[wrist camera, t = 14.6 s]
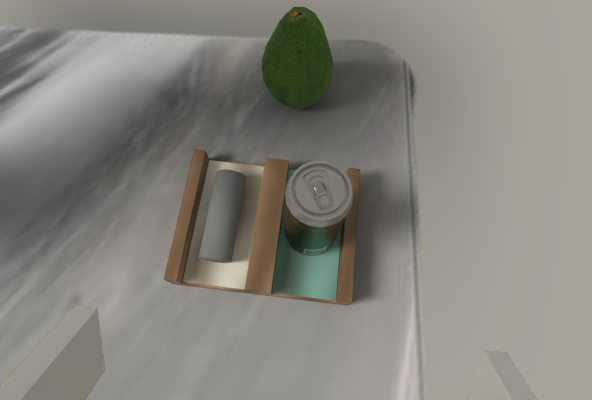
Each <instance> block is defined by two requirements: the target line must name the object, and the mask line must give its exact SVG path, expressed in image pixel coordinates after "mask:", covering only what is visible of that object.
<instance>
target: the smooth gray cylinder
mask: <svg viewBox="0 0 592 400" xmlns="http://www.w3.org/2000/svg"><path fill="white" fill-rule="evenodd" d="M245 183H246V176H245V175H244V174H242V173H240V172H237V171H234V170H228V169H223V170H219V171H217V172H216V177H215V182H214V186H213V191H212V196H211V201H210V205H209V210H208V215H207V220H206V224H205V229H204V234H203V239H202V243H201V248H200V253H199V258H201V259H204V260H207V261H212V262H218V263H231V262H232V256H233V251H234V245H235V239H236V234H237V228H238V223H239V217H240V211H241V206H242V200H243V194H244V189H245Z"/></svg>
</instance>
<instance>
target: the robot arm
mask: <svg viewBox="0 0 592 400" xmlns="http://www.w3.org/2000/svg"><path fill="white" fill-rule="evenodd" d="M104 371H105V364H104V356H103V348H102V340H101V332H100V324H99V316H98V308H90V307H81V306H75V307H74V308H73V309H72V310H71V311H70V312H69V313H68V314H67V315H66V316H65V317H64V318H63V319H62V320H61V321H60V323H59V324H58V325H57V326H56V327H55V328H54V329H53V330H52V331H51V332H50V333H49V334H48V335H47V336H46V337H45V339H44V340H43V341H42V342H41V343H40V344H39V345H38V346H37V347H36V348H35V349H34V350H33V351H32V352H31V354H30V355H29V356H28V357H27V358H26V359H25V360H24V361H23V362H22V363H21V364H20V365H19V366H18V367H17V368H16V370H15V371H14V372H13V373H12V374H11V375H10V376H9V377H8V378H7V379H6V380H5V381H4V382H3V383H2V384H1V386H0V400H86V398H87V397H88V395H89V394H90V392H91V391H92V389H93V388H94V386H95V385H96V383H97V381H98V380H99V378H100V377H101V375H102V374H103V372H104ZM466 400H537V399H536V398H535V396H534V394H533V393H532V391H531V390H530V388H529V387H528V385H527V383H526V382H525V380H524V379H523V378H522V375H521V374H520V372H519V371H518V369H517V368H516V366H515V364H514V363H513V361H512V360H511V358H510V356H509V355H508V353H505V352H496V351H487V350H484V352H483V355H482V358H481V361H480V364H479V366H478V369H477V372H476V375H475V377H474V380H473V383H472V385H471V388H470V391H469V394H468V397H467V399H466Z"/></svg>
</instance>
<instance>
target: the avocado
mask: <svg viewBox="0 0 592 400" xmlns="http://www.w3.org/2000/svg"><path fill="white" fill-rule="evenodd" d="M332 68H333V60H332V56H331V52H330V48H329V45H328V41H327V38H326V35H325V31H324V29H323V26H322V24H321V22H320V21H319V19H318V17H317V16H316V14H315V13H314V12H312V11H311V10H309V9H307V8H305V7H294V8H293V9H291V10H290V11H289V12H288V13H286V14H285V16H284V17H283V18H282V19H281V20H280V22H279V23H278V25H277V27H276V29H275V31H274V32H273V34H272V36H271V38H270V39H269V41H268V43H267V46H266V48H265V52H264V55H263V58H262V72H263V80H264V82H265V84H266V86H267V88H268V89H269V91H270V92H271V93H272V95H273V96H274V97H275V98H276V99H277V100H279V101H280V102H281V103H283V104H284V105H286V106H289V107H292V108H306V107H309V106H312V105H315V104H316V103H317V102H318V101H319V100H320V99H321V98H322V97H323V95H324V94H325V92H326V90H327V89H328V87H329V85H330V83H331V76H332Z"/></svg>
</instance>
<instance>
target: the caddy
mask: <svg viewBox="0 0 592 400" xmlns="http://www.w3.org/2000/svg"><path fill="white" fill-rule="evenodd" d="M223 169H228V170H234V171H237V172H240V173H242V174H244V175H245V176H246V183H245V189H244V194H243V200H242V206H241V211H240V217H239V223H238V228H237V234H236V239H235V245H234V251H233V256H232V262H231V263H218V262H212V261H207V260H204V259H201V258H199V253H200V248H201V243H202V239H203V234H204V229H205V224H206V220H207V215H208V210H209V205H210V201H211V196H212V191H213V186H214V182H215V177H216V172H217V171H219V170H223ZM296 170H297V169H289V161H288V160H280V159H272V158H266V160H265V166H264V165H255V164H247V163H239V162H231V161H222V160H214V159H209V158H208V155H207V153H206V151H205V150H197V149H194V154H193V158H192V162H191V166H190V170H189V175H188V179H187V183H186V187H185V191H184V196H183V200H182V204H181V208H180V213H179V217H178V221H177V225H176V229H175V234H174V238H173V242H172V246H171V250H170V255H169V259H168V263H167V267H166V271H165V276H164V280H166V281H168V282H170V283H172V284H178V285H187V286H195V287H203V288H211V289H219V290H227V291H235V292H243V293H251V294H259V295H267V296H276V297H284V298H292V299H300V300H308V301H316V302H324V303H332V304H340V305H348V304H350V303H352V295H353V279H354V263H355V246H356V230H357V214H358V198H359V182H360V169H355V168H349V170H348V172H347V176H348V178H349V179H350V181H351V185H352V192H353V202H352V206H351V208H350V210H349V212H348V214H347V216H346V218H345V220H344V222H343V224H342V226H341V228H340V230H339V232H338V234H337V236H336V238H335V240H334V242H333V244H332V245H331V246H330V247H329V248H328V249H327V250H326V251H325V252H323V253H321V254H319V255H313V256H309V255H303V254H301V253H299V252H297V251H295V250H294V249H293V248H292V247H291V246H290V245H289V243H288V241H287V240H286V237H285V231H284V222H285V190H286V185H287V183H288V181H289V179H290V177H291V176H292V175H293V173H294V172H295V171H296Z"/></svg>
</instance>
